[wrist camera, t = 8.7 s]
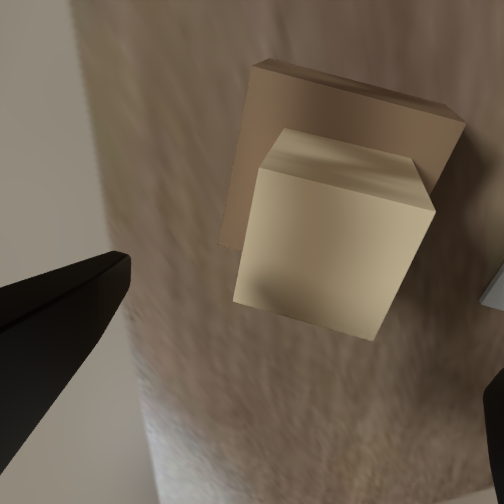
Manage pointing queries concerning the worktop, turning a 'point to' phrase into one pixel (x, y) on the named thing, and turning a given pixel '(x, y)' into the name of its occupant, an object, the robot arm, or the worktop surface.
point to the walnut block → (331, 128)
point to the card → (494, 292)
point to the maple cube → (331, 232)
